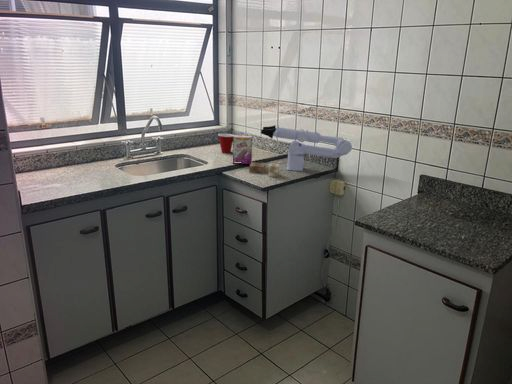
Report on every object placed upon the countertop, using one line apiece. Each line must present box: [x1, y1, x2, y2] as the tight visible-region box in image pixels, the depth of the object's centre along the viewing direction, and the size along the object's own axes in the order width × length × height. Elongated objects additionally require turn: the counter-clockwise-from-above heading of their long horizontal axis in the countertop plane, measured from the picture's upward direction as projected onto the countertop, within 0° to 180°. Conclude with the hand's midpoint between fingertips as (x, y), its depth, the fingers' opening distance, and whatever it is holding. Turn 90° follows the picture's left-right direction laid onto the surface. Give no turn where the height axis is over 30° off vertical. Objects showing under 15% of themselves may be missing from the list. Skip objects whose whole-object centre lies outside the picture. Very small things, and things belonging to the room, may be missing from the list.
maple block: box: [268, 163, 280, 178], centre depth 227 cm, size 5×5×6 cm
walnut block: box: [248, 161, 266, 174], centre depth 235 cm, size 8×8×4 cm
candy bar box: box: [232, 134, 254, 165], centre depth 247 cm, size 11×5×16 cm, turn 84°
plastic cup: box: [217, 133, 235, 154], centre depth 271 cm, size 11×11×12 cm
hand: (262, 130), depth 236 cm, fingers open, 7 cm apart
